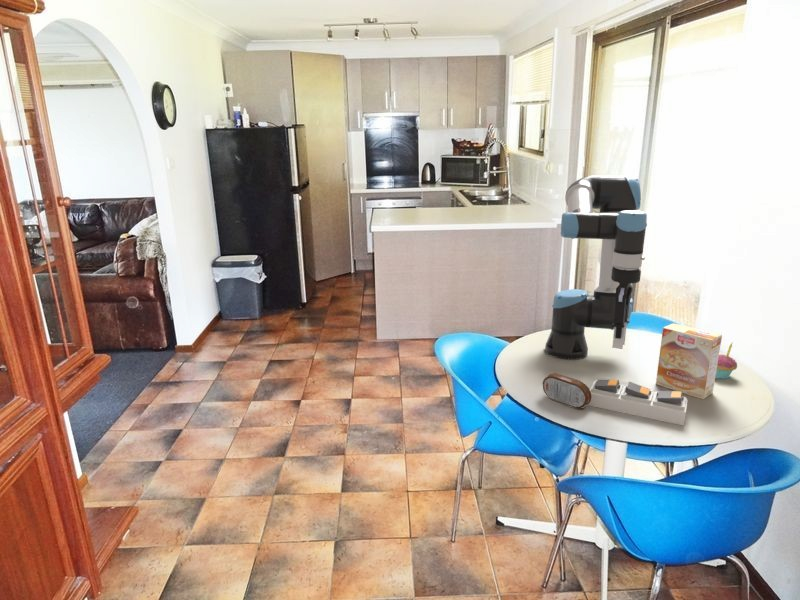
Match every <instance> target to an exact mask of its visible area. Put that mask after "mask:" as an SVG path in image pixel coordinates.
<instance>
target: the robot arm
mask: <svg viewBox="0 0 800 600" xmlns="http://www.w3.org/2000/svg"><path fill="white" fill-rule="evenodd" d="M641 195H642V194H641V184H640V180H639V179H638V177H636V176H635V175H625V174H621V175H620V174H619V175H615V174H614V175H612V174H611V175H604V174H603V175H587V176H584V177H581V178H579V179H577V180H576V181H574V182H572V184H570V186H568V188H567V190H566V192H565V198H564V199H565V203H566V206H567V212H563V213H562V215H561V222H560V224H561V225H560V237H562V238H564V239H565V238H567V239H568V238H569V239H572V240H573V239H583V240H584V239H587V240H588V239H590V240H601V251H600V252H601V254H600V265H599V278H598V286H597V287H596V288H595V289H594V290H593V294H592V295H590V294H589V293H588V291H587V290H584V289H580V288H579V289H577V288H575V289H574V288H572V289H566V290H565V289H564V290H560V291H558V292H557V293H555V294H554V297H553V300H552V301H553V302H552V307H551V308H552V316H551V330H550V333H549V336H548V338H547V340H546V342H545V346H544V347H545V348H544V350H545V351H544V352H545V353H546V354H547V355H548V356H551V357H552V358H553V357H554V358H556V359H562V360H579V359H580V358H581V359H584V358H586V357H587V356H588V351H589V347H588V343H587V340H586V335H585V328H590V329H603V330H611V331H613V338H612V345H611V346H612V348H613V349H619V350H623V348H624V346H625V342H626V333H627V327H628V325H629V324H630V321H631V320H630V319H631V316H632V310H633V305H634V299H633V298H632V293H633V291H634V289H633V288H634V287H633V285H632V284H637V283H639V282H640V281H641V274H642V270H641V267H642V264H643V263H642V262H643V261H644V260H645V259H646V257H645V256H643V255H644V254H643V253H644V244H645V237H646V229H647V226H648V223H647V220H648V219H647V218H648V217H647V216H648V215H647V213H646V212H645V211H641V210H640V208H641V205H642V204H641V199H642V196H641ZM594 210H599V212H593V211H594Z"/></svg>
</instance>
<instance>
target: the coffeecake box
mask: <svg viewBox="0 0 800 600" xmlns="http://www.w3.org/2000/svg"><path fill="white" fill-rule="evenodd" d="M722 338H723V335H722V334H719V333H715V332H712V331H711V332H710V331H708V330H707V331H706V330H703V329H699V328H695V327H690V326H687V325H682V324H679V323H678V324H677V323H674V322H673V323H670V324H669V325H666V326H663V328H662V332H661V339H660V340H661V342H660V348H659V349H660V350H659V355H658V356H659V357H658V363H657V365H658V366H657V370H656V372H657V373H656V378H655V379H656V380H655V385H658V386H661V387H663V386H664V388H667V389H668V390H669V389H670V390H672V391H682V394H685V395H688V396H692V397H695V398H697V399H699V400H705V399H706V398H707V397H709V396H711V395H712V394H713V392H714V387H715V381H716V380H715V379H716V377H715V376H716V370H717V363H718V357H719V355H720V352H721V345H722Z"/></svg>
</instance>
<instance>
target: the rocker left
mask: <svg viewBox="0 0 800 600" xmlns="http://www.w3.org/2000/svg"><path fill="white" fill-rule="evenodd" d="M596 380H597V382H596V384H595V389H598V390H603V391H617V389H618V387H619V385H620V380H619V379H596Z"/></svg>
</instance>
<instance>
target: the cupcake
mask: <svg viewBox="0 0 800 600" xmlns="http://www.w3.org/2000/svg"><path fill="white" fill-rule="evenodd" d="M732 347H733V342H731V344H729V347H728V350H727V352H726V355H725V354H719V357H718V363H717V370H716V376H715V379H720V380H725V379H726V378H727V379H729V377H730V375H731V374H732V372H733V371H734V370H737V368H738V363H737V361H736V359H734V358H733V357H731V356H729V355H730V352H731V349H732Z"/></svg>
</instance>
